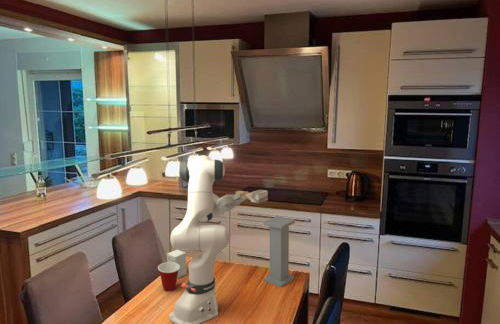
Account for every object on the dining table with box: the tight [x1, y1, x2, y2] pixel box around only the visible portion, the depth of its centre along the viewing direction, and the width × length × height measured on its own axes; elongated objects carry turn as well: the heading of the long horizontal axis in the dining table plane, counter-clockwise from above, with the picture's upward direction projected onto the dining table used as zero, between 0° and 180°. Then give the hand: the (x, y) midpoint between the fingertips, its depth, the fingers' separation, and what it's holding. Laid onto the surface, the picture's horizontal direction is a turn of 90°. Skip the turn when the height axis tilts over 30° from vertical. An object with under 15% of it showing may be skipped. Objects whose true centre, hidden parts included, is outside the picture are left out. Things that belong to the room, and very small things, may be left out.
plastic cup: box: [157, 262, 180, 292], centre depth 182 cm, size 11×11×12 cm
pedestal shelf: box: [263, 216, 296, 288], centre depth 189 cm, size 12×11×32 cm
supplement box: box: [166, 249, 188, 280], centre depth 197 cm, size 7×7×13 cm
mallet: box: [235, 189, 269, 204], centre depth 197 cm, size 18×8×5 cm, turn 50°
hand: (243, 194), depth 200 cm, fingers closed on mallet, 3 cm apart
